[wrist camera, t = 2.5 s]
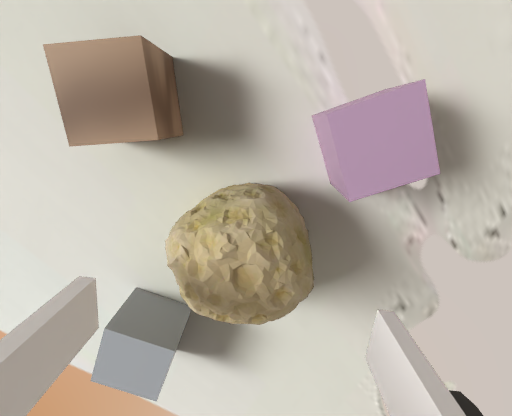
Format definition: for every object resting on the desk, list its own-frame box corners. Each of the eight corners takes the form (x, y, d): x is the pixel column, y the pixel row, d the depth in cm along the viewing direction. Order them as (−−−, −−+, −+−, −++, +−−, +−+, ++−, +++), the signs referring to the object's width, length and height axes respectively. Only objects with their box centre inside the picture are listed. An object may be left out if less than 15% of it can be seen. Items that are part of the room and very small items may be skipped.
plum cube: (311, 115, 19) (326, 114, 15) (384, 89, 19) (425, 79, 14) (330, 183, 21) (349, 201, 16) (398, 161, 20) (440, 173, 15)
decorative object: (304, 242, 26) (375, 225, 17) (238, 340, 23) (280, 388, 13) (225, 177, 25) (254, 121, 16) (145, 268, 22) (122, 266, 13)
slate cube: (136, 287, 24) (104, 328, 19) (192, 306, 24) (174, 351, 20) (123, 331, 25) (90, 381, 21) (176, 349, 26) (156, 401, 21)
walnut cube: (99, 63, 19) (42, 44, 14) (172, 57, 19) (140, 35, 14) (115, 140, 20) (69, 146, 16) (183, 135, 20) (158, 139, 15)
